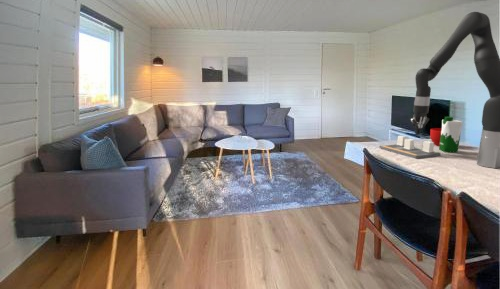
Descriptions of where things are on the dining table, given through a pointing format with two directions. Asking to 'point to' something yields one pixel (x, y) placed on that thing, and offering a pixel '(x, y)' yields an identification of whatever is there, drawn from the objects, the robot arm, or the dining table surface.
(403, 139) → the block
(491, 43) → the robot arm
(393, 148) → the panel
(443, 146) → the milk carton
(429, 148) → the block
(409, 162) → the dining table surface
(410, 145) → the block
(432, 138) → the ceramic cup
